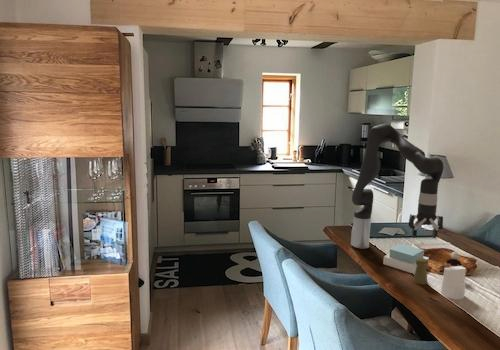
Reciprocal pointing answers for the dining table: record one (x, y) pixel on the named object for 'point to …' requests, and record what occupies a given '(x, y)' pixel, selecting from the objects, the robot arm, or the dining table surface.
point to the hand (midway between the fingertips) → (424, 237)
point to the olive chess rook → (421, 271)
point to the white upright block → (453, 282)
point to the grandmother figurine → (453, 260)
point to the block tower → (404, 257)
